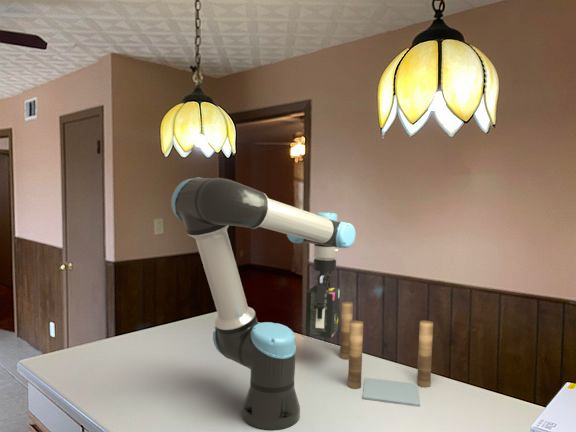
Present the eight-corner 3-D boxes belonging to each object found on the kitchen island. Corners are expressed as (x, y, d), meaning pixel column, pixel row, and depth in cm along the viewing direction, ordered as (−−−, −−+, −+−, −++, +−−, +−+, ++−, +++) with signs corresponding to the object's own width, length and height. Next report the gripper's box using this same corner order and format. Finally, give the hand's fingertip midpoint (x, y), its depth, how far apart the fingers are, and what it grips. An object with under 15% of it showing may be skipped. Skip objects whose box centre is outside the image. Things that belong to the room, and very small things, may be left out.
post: (430, 388, 136) (433, 324, 135) (417, 386, 137) (420, 323, 136) (429, 383, 140) (432, 321, 139) (416, 381, 141) (419, 319, 140)
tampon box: (331, 338, 143) (333, 294, 142) (304, 334, 146) (306, 291, 145) (339, 329, 153) (340, 287, 153) (313, 325, 156) (314, 284, 156)
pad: (420, 406, 125) (420, 404, 125) (362, 399, 128) (362, 397, 128) (417, 385, 138) (417, 383, 138) (365, 379, 142) (365, 377, 142)
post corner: (360, 389, 134) (362, 324, 133) (347, 388, 135) (349, 323, 134) (361, 384, 138) (363, 321, 137) (348, 382, 139) (350, 320, 138)
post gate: (350, 360, 158) (352, 304, 157) (339, 358, 159) (341, 303, 157) (351, 356, 162) (353, 302, 160) (340, 354, 162) (342, 301, 161)
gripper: (331, 264, 136) (328, 334, 137) (340, 254, 159) (337, 314, 160) (307, 262, 138) (305, 331, 139) (319, 253, 161) (317, 312, 162)
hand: (322, 322), depth 149 cm, fingers closed on tampon box, 11 cm apart
